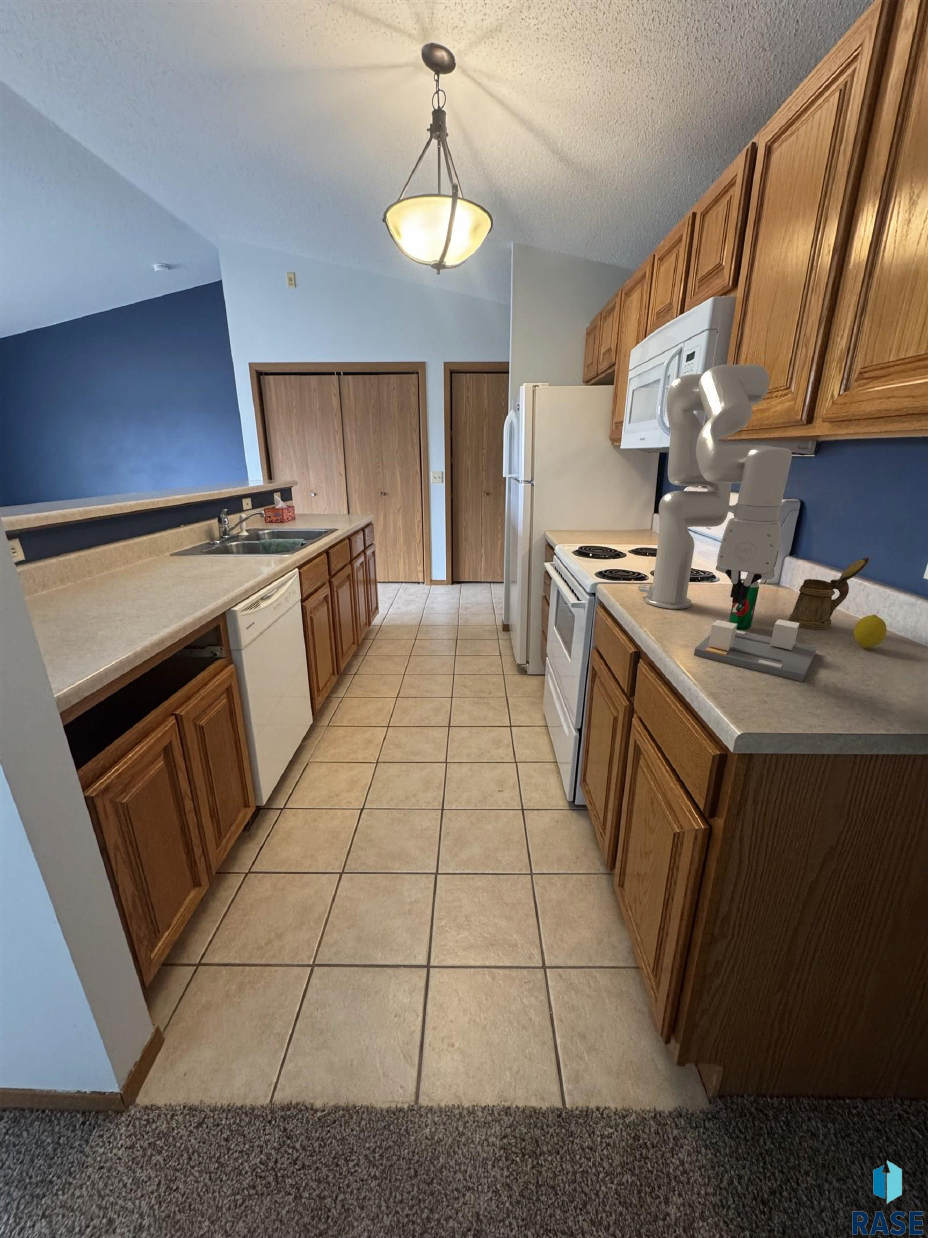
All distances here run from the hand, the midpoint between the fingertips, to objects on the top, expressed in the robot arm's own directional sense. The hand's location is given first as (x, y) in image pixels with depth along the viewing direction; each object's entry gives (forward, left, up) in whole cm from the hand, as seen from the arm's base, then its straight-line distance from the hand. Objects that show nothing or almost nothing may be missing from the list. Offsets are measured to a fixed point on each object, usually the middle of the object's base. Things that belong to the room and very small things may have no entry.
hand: (737, 601), depth 104 cm
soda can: (-3, +21, -12) cm, 25 cm away
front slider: (-2, -1, -10) cm, 10 cm away
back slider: (+9, +9, -10) cm, 16 cm away
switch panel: (+4, +4, -12) cm, 13 cm away
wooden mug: (+12, +36, -12) cm, 40 cm away
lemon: (+22, +24, -12) cm, 35 cm away
